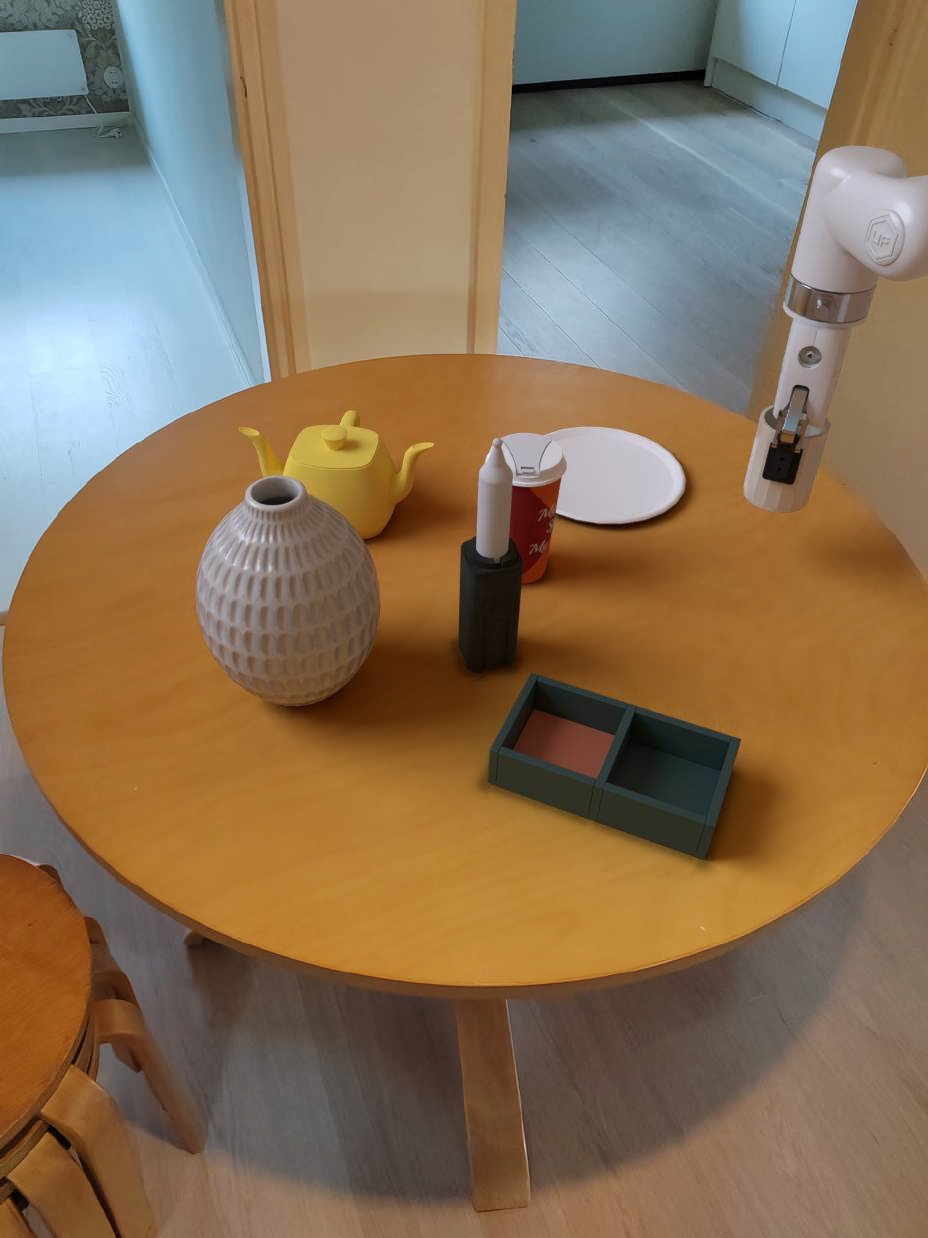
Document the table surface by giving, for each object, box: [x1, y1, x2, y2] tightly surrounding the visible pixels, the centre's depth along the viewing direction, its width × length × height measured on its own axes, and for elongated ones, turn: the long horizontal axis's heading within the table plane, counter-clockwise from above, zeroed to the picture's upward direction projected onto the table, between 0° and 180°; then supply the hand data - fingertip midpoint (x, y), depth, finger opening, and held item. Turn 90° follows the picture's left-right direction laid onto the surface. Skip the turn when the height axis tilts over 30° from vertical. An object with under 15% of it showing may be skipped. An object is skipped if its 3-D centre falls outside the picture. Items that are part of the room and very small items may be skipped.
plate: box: [542, 426, 687, 526], centre depth 121 cm, size 21×21×1 cm
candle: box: [457, 437, 523, 674], centre depth 90 cm, size 5×5×25 cm
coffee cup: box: [484, 432, 567, 585], centre depth 104 cm, size 8×8×15 cm
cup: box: [742, 404, 832, 514], centre depth 102 cm, size 7×7×9 cm
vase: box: [194, 476, 382, 707], centre depth 88 cm, size 16×16×22 cm
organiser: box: [487, 672, 742, 861], centre depth 86 cm, size 19×10×5 cm, turn 67°
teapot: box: [237, 409, 435, 540], centre depth 113 cm, size 22×16×11 cm
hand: (784, 460), depth 102 cm, fingers closed on cup, 6 cm apart
